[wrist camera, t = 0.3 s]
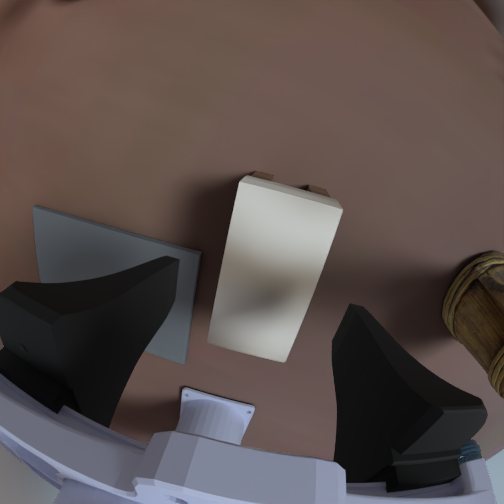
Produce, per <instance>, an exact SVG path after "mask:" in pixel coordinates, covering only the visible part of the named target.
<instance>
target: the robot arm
mask: <svg viewBox="0 0 504 504" xmlns="http://www.w3.org/2000/svg"><path fill="white" fill-rule="evenodd" d="M179 263H180V259H177V258H174V257H170V256H167V255H166V256H162V257H159V258H156V259H154V260H151V261H148V262H146V263H143V264H140V265H138V266H135V267H132V268H129V269H126V270H123V271H120V272H117V273H114V274H110V275H106V276H102V277H98V278H93V279H88V280H81V281H73V282H63V283H31V282H18V281H16V282H14V283H13V284H11V285H10V286H9V287H7V288H6V289H5V290H3V291H2V292H1V293H0V337H1V340H2V342H3V345H4V348H3V349H1V350H0V444H1V445H2V446H3V447H4V448H5V449H6V450H8V451H9V452H10V453H11V454H12V455H13V456H15V457H16V458H17V459H18V460H19V461H21V462H22V463H23V464H24V465H26V466H27V467H28V468H30V469H31V470H32V471H33V472H35V473H36V474H38V475H39V476H40V477H42V478H43V479H44V480H46V481H47V482H49V483H50V484H51V485H53V486H54V487H56V488H57V489H59V490H60V491H59V493H58V495H57V497H56V499H55V501H54V503H53V504H497V502H496V498H495V494H494V490H493V487H492V483H491V479H490V476H489V473H488V469H487V466H486V463H485V460H484V458H479V459H475V460H470V461H467V462H464V463H462V464H460V465H459V463H458V460H457V459H458V458H460V457H461V455H462V453H461V450H460V448H461V447H462V446H463V445H464V444H465V443H466V442H467V441H469V440H470V439H471V438H472V437H473V436H474V435H475V434H476V433H477V432H478V431H479V430H480V429H481V428H482V426H483V425H484V423H485V421H486V419H487V416H488V414H487V410H486V408H485V406H484V404H483V402H482V400H481V399H480V398H478V397H476V396H474V395H472V394H469V393H467V392H465V391H463V390H460V389H459V388H457V387H455V386H453V385H451V384H450V383H448V382H446V381H444V380H443V379H441V378H440V377H438V376H437V375H435V374H434V373H432V372H431V371H430V370H428V369H427V368H425V367H424V366H423V365H422V364H420V363H419V362H418V361H417V360H416V359H414V358H413V357H412V356H411V355H410V354H409V353H408V352H406V351H405V350H404V349H403V348H402V347H401V346H400V345H399V344H398V343H397V342H396V341H395V340H394V339H393V338H392V337H391V335H390V334H389V333H388V332H387V331H386V330H385V329H384V328H383V327H382V326H381V325H380V323H379V322H378V321H377V320H376V319H375V318H374V317H373V316H372V315H371V314H370V313H369V312H368V311H367V310H366V309H365V308H364V307H362V306H358V305H354V304H349V306H348V308H347V311H346V313H345V315H344V317H343V319H342V321H341V323H340V326H339V328H338V330H337V332H336V334H335V336H334V338H333V340H332V367H333V376H334V384H335V392H336V401H337V430H336V443H335V453H334V460H333V461H332V460H327V459H322V458H318V457H313V456H303V455H295V454H288V453H281V452H275V451H269V450H263V449H258V448H252V447H248V446H243V445H240V444H241V439H242V437H243V435H244V432H245V430H246V428H247V426H248V424H249V422H250V419H251V417H252V415H253V413H254V411H255V407H254V406H253V405H249V404H245V403H241V402H237V401H233V400H229V399H225V398H221V397H218V396H214V395H210V394H207V393H204V392H200V391H197V390H194V389H190V388H187V387H184V388H183V390H182V398H181V409H180V419H179V422H178V425H177V427H176V430H175V431H166V432H158V433H154V435H153V436H152V438H151V439H150V441H149V443H148V445H146V444H144V443H141V442H138V441H136V440H134V439H131V438H129V437H126V436H124V435H122V434H120V433H117V432H115V431H113V430H111V429H109V425H110V422H111V420H112V417H113V414H114V412H115V409H116V407H117V404H118V402H119V400H120V397H121V395H122V393H123V390H124V388H125V386H126V384H127V382H128V379H129V377H130V375H131V373H132V371H133V369H134V367H135V365H136V363H137V361H138V360H139V358H140V356H141V355H142V353H143V352H144V350H145V349H146V347H147V346H148V344H149V343H150V341H151V340H152V339H153V337H154V336H155V334H156V333H157V331H158V330H159V328H160V327H161V325H162V324H163V322H164V321H165V319H166V318H167V316H168V314H169V312H170V310H171V308H172V306H173V304H174V302H175V299H176V289H177V280H178V271H179Z"/></svg>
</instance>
